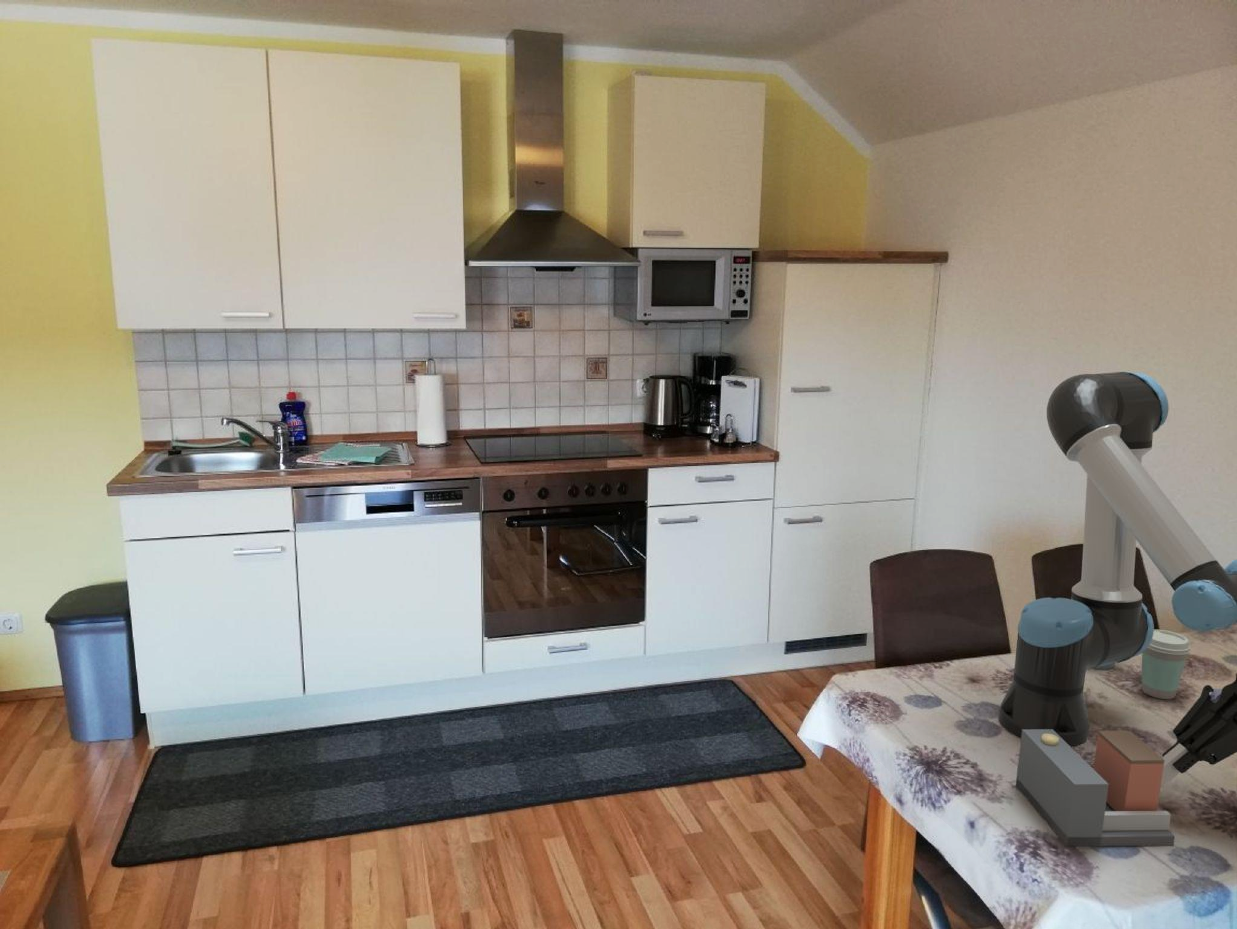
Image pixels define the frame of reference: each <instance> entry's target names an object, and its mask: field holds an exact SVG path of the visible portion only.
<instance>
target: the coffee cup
mask: <svg viewBox="0 0 1237 929" xmlns="http://www.w3.org/2000/svg"><path fill="white" fill-rule="evenodd" d="M1191 650H1192V649H1191V645H1190V642H1189V639H1188V638H1187V637H1186V636H1184V635H1182V634H1180V633H1177V632H1174V631H1172V630H1164V629H1154V633H1153V637H1152V640H1151V642H1150V644H1149V646H1148V647H1147V648H1146V650H1145V651H1143V652H1142V653H1141V691H1142V692H1143V693H1144V694H1146V695H1148V696H1150V697H1153V698H1156V699H1160V700H1161V699H1162V700H1173V699H1174V698H1176V695H1177V693H1178V692H1177V691H1178V688H1179V685H1180V681H1181V678H1182V675H1183V671H1184V669H1185V665H1186V662H1187V657H1188V654H1190V653H1191Z"/></svg>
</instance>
